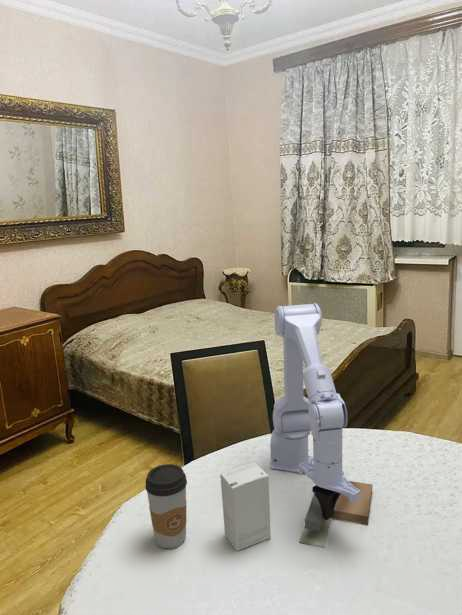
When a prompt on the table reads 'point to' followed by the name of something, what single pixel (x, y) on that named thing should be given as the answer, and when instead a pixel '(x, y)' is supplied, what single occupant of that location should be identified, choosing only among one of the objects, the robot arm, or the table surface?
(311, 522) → the gray rectangular bar
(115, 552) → the table surface
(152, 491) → the coffee cup
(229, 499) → the skincare box
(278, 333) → the robot arm
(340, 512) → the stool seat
